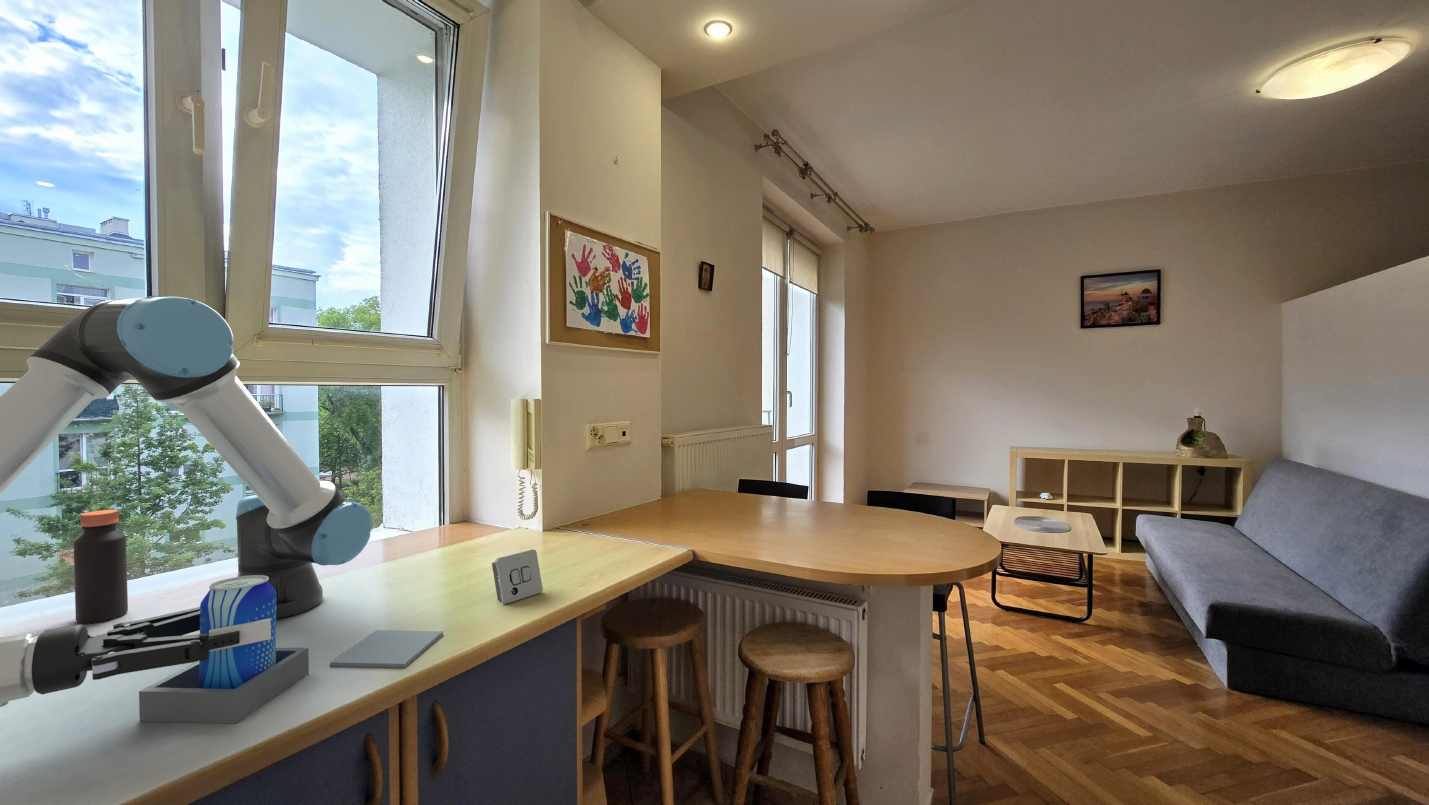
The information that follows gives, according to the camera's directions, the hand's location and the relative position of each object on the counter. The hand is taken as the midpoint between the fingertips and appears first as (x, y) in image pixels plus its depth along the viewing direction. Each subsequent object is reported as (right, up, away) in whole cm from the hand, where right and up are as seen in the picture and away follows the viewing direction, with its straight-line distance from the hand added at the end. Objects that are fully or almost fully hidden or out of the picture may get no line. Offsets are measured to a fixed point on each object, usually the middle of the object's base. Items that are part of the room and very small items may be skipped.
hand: (270, 618), depth 85 cm
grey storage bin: (-4, -10, -2) cm, 11 cm away
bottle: (-51, -9, +25) cm, 58 cm away
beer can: (-3, -10, -2) cm, 11 cm away
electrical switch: (+23, -9, +37) cm, 45 cm away
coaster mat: (+11, -10, +12) cm, 19 cm away
